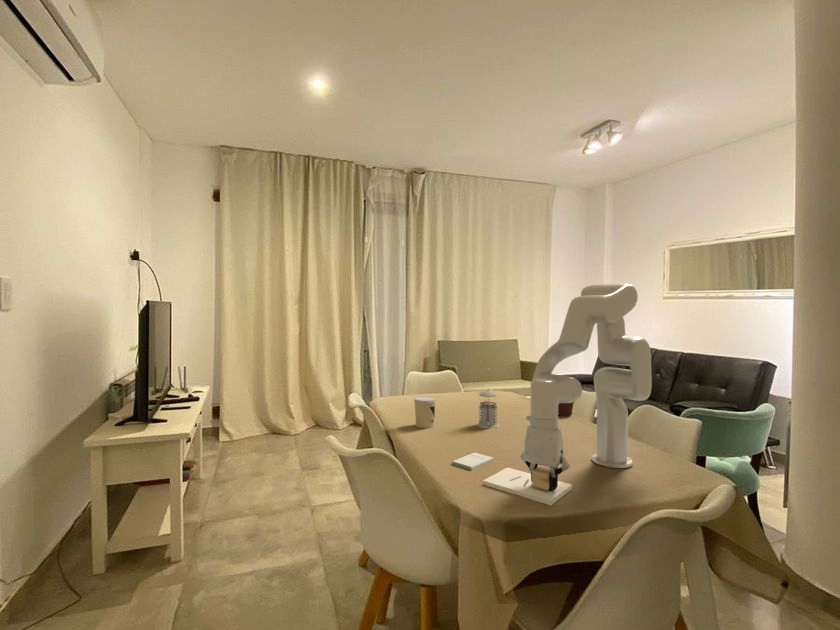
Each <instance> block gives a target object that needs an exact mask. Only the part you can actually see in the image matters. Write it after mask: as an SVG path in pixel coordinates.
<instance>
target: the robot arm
mask: <svg viewBox="0 0 840 630" xmlns="http://www.w3.org/2000/svg"><path fill="white" fill-rule="evenodd" d="M638 298H639V297H638V291H637V289H636V287H635V286H634V285H632V284H629V283H607V284H604V283H602V284H592V285H587V286H585V287H583V288H582V290H581V292H580V296H576V297H574V298H573V299H572V300H571V301H570V303H569V306H568V309H567V313H566V314H565V318H564V322H563V325H562V329H561V332H560V336H559V339H558V340H557V341H556V342H555V343H553V344H552V345H551V346H550V347H549V348H547V350H545V352H544V353H543V354H542V355H541V356H540V358H539V359H538V362H537V364H536V366H535V369H534V373H533V377H532V379H531V381H530V415H527V416H526V421H529V425H527V427H526V433H525V438H524V451H523V452H522V453H521V455H520V456H519V457H520V459H521V460H522V461H523V462H524V463H525V464H526V466H527V468H528V469H529V472H530V474H531V481H532V470H534V469H535V468H537V467H538V466H540V465H543V466H547V467H550V471H551V477H550V491H554V490H555V489H556V488H557V486H558V481H559V477H558V476H559V475H560V474H562V473H563V472H566V471H567V470H568V469H570V468H571V466H570V464H569V463H568V460H567V459H566V458H565V455H564V454H565V451H564V441H563V435H562V430H561V428H559V416H558V404H559V403H572V402H574V403H575V402H577V401H578V400H579V398H581V396H582V393H583V387H582V383H581V382H580V381H579V380H578V379H577V378H575V377H572V376H567V375H560V374H554V373H553V372H554V369H555V368H556V366H557V365H558V364H559V363H561V362H563V361H564V360H565V359H567V358H570V357H572V356H575V355H578V354H581V353H583V352H585V351H586V350H587V349H588V348H589V345H590V341H591V338H592V334H593V330H594V327H595V325H596V335H597V354H598V358H599V360H600V362H603V363H605V364H608V365H609V364H611V365H618V366H628V367H629V368H630V369H628V368H626V369H625V368H619V367H611V366H610V367H609V366H608V367H607V366H606V367H602V368H599V369H598V370H596V372H595V373H594V376H593V384H594V385H593V386H594V391H595V397H596V453H594V454H592V455H591V460H592V462H594V463H595V464H597V465H599V466H602V467H605V468H612V469H628V468H631V467H632V466H633V465H634V461H633V459H632V458H630V456H629V455H628V449H629V445H628V444H629V441H628V440H629V436H628V433H629V431H628V430H629V423H628V422H629V412H628V406H627V405H626V403H625V402H624V399H626V400H632V401H639V402H641V401H646V400H648V399H649V397H650V395H651V393H652V385H653V384H652V383H653V382H652V381H653V380H652V352H651V351H652V350H651V347H650V344H649V342H648V341H647V340H646V339H645V338H643V337H640V336H629V335H627V334H626V325H625V323H626V322H625V319H624V317H625V316H626V315H628V314H629V313H630V312H631V311H632V310H633V309H634V308H635V306H636V305H637V303H638ZM628 456H629V457H628ZM560 465H561V466H560ZM559 466H560V467H559Z"/></svg>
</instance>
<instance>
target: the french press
mask: <svg viewBox="0 0 840 630" xmlns="http://www.w3.org/2000/svg"><path fill="white" fill-rule="evenodd" d="M485 372H487V373H489V372H491V369H490V368H486V369H485ZM478 395H479V396H480V397H484V398H492V397H493V398H494V397H497V396H498V393H496V392H495V391H492V390H489V389H486V390H483V391H481V392H480V393H478ZM479 404H480V405H479V406H478V409H479V410H478V412H479V413H478V423H477V424H476V426H477V427H479V428H481V429H482V428H483V429H497V428H499V427H500V424H499V423H498V407H497V403H496V402H494V401H491V400H488V401H481V402H480V403H479ZM496 427H497V428H496Z"/></svg>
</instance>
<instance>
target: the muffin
mask: <svg viewBox="0 0 840 630" xmlns="http://www.w3.org/2000/svg"><path fill="white" fill-rule="evenodd" d="M574 404H575V402H572V403H559V404H558V415H560V416H559V417H562V416H565V417H571V416H570V415H572V414H573V408H574ZM572 416H573V415H572Z"/></svg>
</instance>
